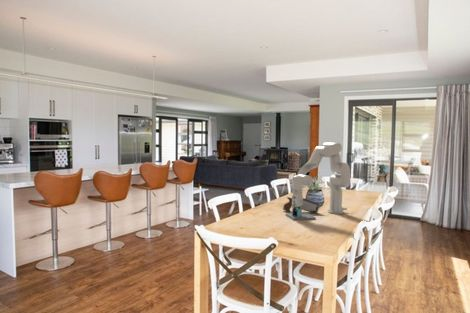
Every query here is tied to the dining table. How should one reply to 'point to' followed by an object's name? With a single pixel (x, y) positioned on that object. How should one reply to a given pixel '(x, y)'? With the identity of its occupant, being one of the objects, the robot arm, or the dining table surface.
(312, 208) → the gun
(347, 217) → the dining table surface
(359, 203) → the dining table surface
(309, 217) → the board
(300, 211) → the teal rectangular block
